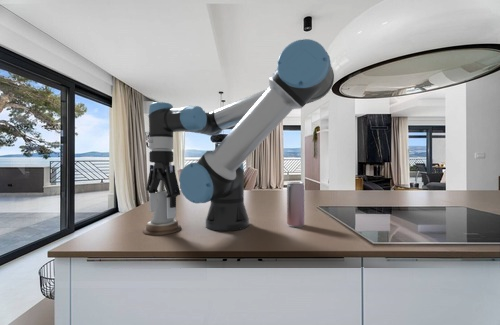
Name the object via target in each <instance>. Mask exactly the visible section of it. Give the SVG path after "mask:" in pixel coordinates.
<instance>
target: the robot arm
mask: <svg viewBox="0 0 500 325" xmlns="http://www.w3.org/2000/svg"><path fill="white" fill-rule="evenodd" d="M334 82H335V73H334V70H333V67H332V64H331V58H330V55H329V53H328V52H327V50H326V49H325V47H324V46H323V45H322V44H321V43H319V42H318V41H316V40H313V39H309V38H303V39H297V40H295V41H293V42H290V43H289V44H288V45H287V46H285V47H284V49H283V50H282V51H281V53H280V55H279V56H278V59H277V66H276V69H275V71H274V72H273V73H272V74H271V75H270V76H269V82H268V83H269V86H268V88H266V89H264V90H260V91H259V92H257V93H254V94H252V95H249V96H246V97H244V98H240V99H239V100H236V101H234V102H231V103H229V104H225V105H223V106H222V107H219V108H216V109H214V110H212V111H208V112H206V111H205V109H203V107H201V106H198V105H195V106H194V105H188V106H182V107H173V104H171V103H169V102H163V101H160V102H159V101H155V102H152V103H150V104H149V108H148V126H149V129H148V130H149V131H148V132H149V133H148V134H149V135H148V136H149V138H148V141H147V142H148V143H149V150H150V152H148V153H149V154H148V156H149V160H148V161H149V163H153V164H150V165H149V173H148V178H147V183H146V189H145V190H146V191H148V193H149V197H148V198H149V201H148V202H149V206H148V207H149V213H154V212H155V209H156V206H157V202H158V194H157V192H159V190H158V189H159V185H160V183H161V181H162V183H163V185H164V188H165V191H167V218H168V219H169V218H174V219H175V218H177V197H178V196H180V195H181V193H182V195H183V196H184V197H185V198H186V199H187V200H188V202H191V203H193V204H206V203H208V202H210V205H209V209H208V212H207V214H206V218H205V227H206V228H207V229H208V230H213V231H218V232H219V231H222V232H224V231H225V232H227V231H228V232H229V231H237V230H243V229H246V228H247V227H248V226H249V225H250V218H249V215H248V212H247V209H246V206H245V202H244V201H245V199H244V197H245V193H244V191H245V190H244V188H245V187H244V186H245V185H244V183H245V182H244V181H245V180H244V179H245V178H244V176H245V174H244V173H245V168H244V162H245V161H246V160H247V159H248V158H249V157H250V156H251V155H252V154H253V152H255V150H256V149H257V148H258V147H259V146H260V145H261V144H262V143H263V142H264V141H265V139H267V137H269V136H270V134H271V133H272V132H274V130H275V129H276V128H277V127H278V126H279V124H280V123H281V122H282V121H283V120H284V119H285V118H286V117H287V116H288V115H289V114H290V113H291V112H292V111H293V110H298V109H302V108H303V107H305V105H307V104H310V103H314V102H316V101H318V100H321V99H322V98H324V97H326V96H327V94H328V93H329V92H330V91H331V89H332V88H333V85H334ZM229 128H232V129H231V130H230V131H229V132H228V134H227V135H226V136H225V137H224V138H223V140H222V141H221V142H220V143H219V144H218V145H217V146H216V148H214V150H207V151H205V152H204V154H203V155H202V156H201V157H200V158H199V159H198V160H197V161H196V162H191V163H189V164H187V165H185V166H184V167H183V168H182V169H181V171H180V174H179V178H177V173H176V167H175V164H172V165H171V164H170V163H173V162H174V152H173V151H172V150H174V133H176V132H188V133H196V134H202V135H206V136H210V137H211V136H212V137H213V136H218V135H220V134H221V133H222V132H223V130H226V129H227V130H228V129H229ZM178 181H179V182H178Z"/></svg>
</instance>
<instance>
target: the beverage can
mask: <svg viewBox="0 0 500 325" xmlns="http://www.w3.org/2000/svg"><path fill="white" fill-rule="evenodd" d="M286 224H287V226H288V227H291V228H302V227H304V225H305V184H304V182H300V181H289V182H287V184H286Z"/></svg>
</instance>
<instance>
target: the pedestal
mask: <svg viewBox="0 0 500 325" xmlns="http://www.w3.org/2000/svg"><path fill="white" fill-rule="evenodd" d="M181 230H182V226H181V225H180V224H179V221H178V220H176V219H175V218H174V220H173V222H169V223H162V224H155V223H151V220H150V221H148V222H146V223H145V227H144V228H142V233H143V234H144V235H147V236H166V235H171V234H175V233H178V232H179V231H181Z"/></svg>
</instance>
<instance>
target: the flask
mask: <svg viewBox="0 0 500 325" xmlns="http://www.w3.org/2000/svg"><path fill="white" fill-rule="evenodd" d="M156 193H157V194H158V202H157V206H156V209H155V212H153V214H152V218H151V220H150V221H151V223H155V224H162V223H169V222H173V220H174V219H175V218H169V219H168V218H167V195H168V194H167V191H166V190H164V191H163V190H162V191H161V190H160V191H158V192H156Z"/></svg>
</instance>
